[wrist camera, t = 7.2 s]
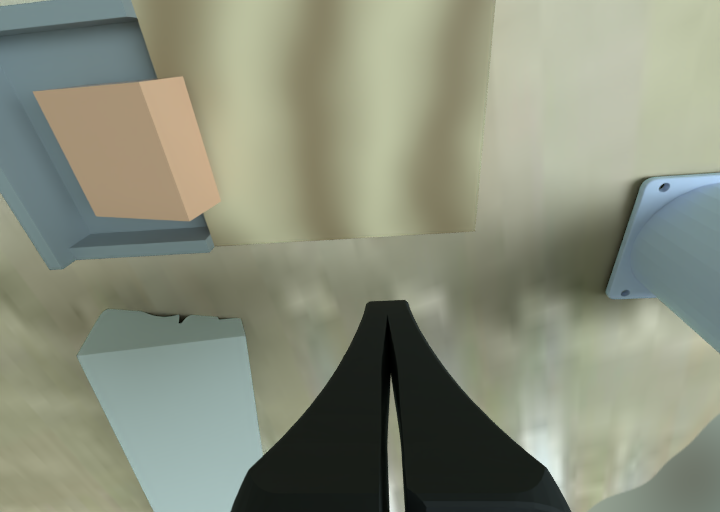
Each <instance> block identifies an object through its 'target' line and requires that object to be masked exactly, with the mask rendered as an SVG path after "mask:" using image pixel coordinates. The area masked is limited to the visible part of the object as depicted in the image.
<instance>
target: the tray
mask: <svg viewBox="0 0 720 512" xmlns="http://www.w3.org/2000/svg"><path fill="white" fill-rule="evenodd" d="M146 79H157V75H156V72H155V69H154V66H153V63H152V61H151V58H150V55H149V52H148V49H147V46H146V43H145V40H144V37H143V34H142V31H141V28H140V25H139V22H138V19H137V16H136V13H135V10H134V7H133V4H132V2H131V0H50V1H41V2H33V3H25V4H16V5H8V6H0V193H1V194H2V196H3V197H4V199H5V200H6V202H7V204H8V205H9V207H10V208H11V210H12V211H13V213H14V215H15V216H16V218H17V219H18V221H19V222H20V224H21V226H22V227H23V229H24V230H25V232H26V233H27V235H28V237H29V238H30V240H31V241H32V243H33V244H34V246H35V248H36V249H37V251H38V252H39V254H40V255H41V257H42V259H43V260H44V262H45V263H46V265H47V266H48V268H49V270H57V269H64V268H65V267H67V266H68V265H69V264H71V263H72V262H74V261H75V260H84V259H102V258H120V257H137V256H155V255H173V254H191V253H208V252H210V251H211V250H212V249H213V248H214V247H215V246H214V243H213V240H212V237H211V234H210V232H209V229H208V226H207V223H206V220H205V217H204V214H203V213H202V214H201V215H199V216H197V217H196V218H194V219H193V220H191V221H173V220H154V219H135V218H116V217H97V216H96V215H95V213H94V211H93V209H92V207H91V205H90V203H89V201H88V200H87V198H86V196H85V194H84V192H83V190H82V188H81V186H80V184H79V182H78V180H77V178H76V176H75V174H74V172H73V170H72V168H71V166H70V164H69V162H68V160H67V158H66V156H65V154H64V152H63V150H62V149H61V147H60V145H59V143H58V141H57V139H56V137H55V135H54V133H53V131H52V129H51V127H50V125H49V123H48V121H47V119H46V117H45V115H44V113H43V111H42V109H41V107H40V105H39V103H38V101H37V100H36V98H35V96H34V94H33V92H32V91H40V90H48V89H57V88H65V87H73V86H81V85H91V84H102V83H113V82H124V81H135V80H146Z"/></svg>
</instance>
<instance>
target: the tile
mask: <svg viewBox="0 0 720 512" xmlns="http://www.w3.org/2000/svg"><path fill="white" fill-rule="evenodd" d="M32 92H33V94H34V96H35V98H36V100H37V101H38V103H39V105H40V107H41V109H42V111H43V113H44V115H45V117H46V119H47V121H48V123H49V125H50V127H51V129H52V131H53V133H54V135H55V137H56V139H57V141H58V143H59V145H60V147H61V149H62V150H63V152H64V154H65V156H66V158H67V160H68V162H69V164H70V166H71V168H72V170H73V172H74V174H75V176H76V178H77V180H78V182H79V184H80V186H81V188H82V190H83V192H84V194H85V196H86V198H87V200H88V201H89V203H90V205H91V207H92V209H93V211H94V213H95V215H96V216H97V217H116V218H135V219H154V220H173V221H191V220H193V219H194V218H196V217H197V216H199V215H201V214H202V213H204V212H205V211H207V210H208V209H210V208H212V207H213V206H215V205H216V204H218V203H219V202H221V199H220V196H219V193H218V189H217V186H216V183H215V180H214V176H213V173H212V170H211V167H210V163H209V160H208V157H207V153H206V150H205V147H204V144H203V140H202V137H201V134H200V131H199V127H198V124H197V121H196V117H195V114H194V111H193V108H192V104H191V101H190V98H189V95H188V91H187V88H186V85H185V81H184V78H183V76H179V77H168V78H157V79H146V80H135V81H124V82H113V83H102V84H91V85H81V86H73V87H65V88H57V89H48V90H40V91H32Z"/></svg>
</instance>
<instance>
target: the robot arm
mask: <svg viewBox="0 0 720 512" xmlns="http://www.w3.org/2000/svg"><path fill="white" fill-rule="evenodd" d="M664 183H665V185H664V186H663V188H661V189H659V187H660V186H661V185H662V184H664ZM624 290H625V291H624ZM622 291H624V292H622ZM606 294H607V296H608V297H609V298H611V299H634V298H658V299H659V300H660V301H661V302H663V303H664V304H665V305H666V306H667V307H668V308H669V309H670V310H672V311H673V312H674V313H675V314H676V315H677V316H678V317H679V318H680V319H682V320H683V321H684V322H685V323H686V324H687V325H688V326H689V327H691V328H692V329H693V330H694V331H695V332H696V333H697V334H698V335H699V336H701V337H702V338H703V339H704V340H705V341H706V342H707V343H708V344H710V345H711V346H712V347H713V348H714V349H715V350H716V351H717V352H719V353H720V173H707V174H692V175H677V176H662V177H652V178H648V179H647V180H645V181H644V182H643V183H642V185H641V187H640V190H639V193H638V196H637V199H636V202H635V205H634V208H633V211H632V214H631V217H630V220H629V223H628V226H627V229H626V232H625V235H624V238H623V241H622V244H621V247H620V250H619V253H618V256H617V259H616V262H615V265H614V268H613V271H612V274H611V277H610V280H609V283H608V286H607V289H606ZM391 377H392V384H393V391H394V398H395V405H396V411H397V418H398V425H399V432H400V440H401V451H402V467H403V484H404V500H405V512H571V510H570V508H569V506H568V504H567V502H566V500H565V498H564V497H563V495H562V493H561V491H560V489H559V487H558V486H557V484H556V482H555V481H554V479H553V477H552V476H551V474H550V472H549V471H548V469H547V468H546V467H545V466H544V465H542V464H541V463H540V462H539V461H537V460H536V459H535V458H534V457H533V456H531V455H530V454H529V453H528V452H526V451H525V450H524V449H523V448H522V447H521V446H519V445H518V444H517V443H516V442H515V441H513V440H512V439H511V438H510V437H509V436H508V435H507V434H506V433H505V432H504V431H502V430H501V429H500V428H499V427H498V426H497V425H496V424H495V423H494V422H493V421H492V420H491V419H490V418H489V417H488V416H487V415H486V414H485V413H484V412H483V411H482V410H481V409H480V408H479V407H478V406H477V405H476V404H475V403H474V402H473V401H472V400H471V399H470V398H469V397H468V395H467V394H466V393H465V392H464V391H463V390H462V389H461V388H460V386H459V385H458V384H457V383H456V382H455V380H454V379H453V378H452V377H451V375H450V374H449V373H448V372H447V370H446V369H445V368H444V366H443V365H442V363H441V362H440V361H439V359H438V358H437V356H436V355H435V353H434V352H433V350H432V349H431V347H430V346H429V344H428V342H427V341H426V339H425V337H424V336H423V334H422V332H421V331H420V329H419V327H418V325H417V323H416V321H415V319H414V317H413V315H412V312H411V310H410V307H409V304H408V302H407V301H405V300H395V301H372V302H368V303H367V304H366V307H365V311H364V314H363V317H362V320H361V322H360V325H359V327H358V330H357V332H356V334H355V336H354V338H353V340H352V342H351V344H350V346H349V348H348V350H347V352H346V354H345V355H344V357H343V359H342V361H341V362H340V364H339V366H338V368H337V369H336V371H335V372H334V374H333V375H332V377H331V378H330V380H329V381H328V383H327V384H326V386H325V387H324V389H323V390H322V391H321V393H320V394H319V395H318V396H317V398H316V399H315V400H314V402H313V403H312V404H311V406H310V407H309V408H308V409H307V410H306V412H305V413H304V414H303V415H302V416H301V417H300V418H299V420H298V421H297V422H296V423H295V424H294V425H293V426H292V427H291V428H290V429H289V431H288V432H287V433H286V434H285V435H284V436H283V437H282V438H281V439H280V440H279V441H278V442H277V443H276V444H275V445H274V446H273V447H272V448H271V449H270V450H269V451H268V452H267V453H266V454H265V455H263V456H262V457H261V458H260V459H259V460H258V461H257V462H256V463H255V464H254V465H253V466H252V467H251V468H250V469H249V470H248V472H247V474H246V476H245V478H244V480H243V482H242V484H241V486H240V489H239V491H238V494H237V496H236V498H235V500H234V503H233V506H232V509H231V512H389V483H388V453H387V438H388V416H389V398H390V378H391Z"/></svg>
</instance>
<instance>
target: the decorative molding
mask: <svg viewBox="0 0 720 512" xmlns="http://www.w3.org/2000/svg"><path fill="white" fill-rule="evenodd" d="M77 358H78V360H79V362H80V364H81V366H82V368H83V370H84V372H85V374H86V376H87V378H88V380H89V382H90V384H91V386H92V388H93V390H94V392H95V394H96V396H97V398H98V400H99V402H100V404H101V406H102V408H103V410H104V412H105V414H106V416H107V418H108V420H109V422H110V425H111V427H112V429H113V431H114V433H115V435H116V437H117V439H118V441H119V443H120V445H121V447H122V449H123V451H124V453H125V455H126V457H127V459H128V461H129V463H130V465H131V467H132V469H133V471H134V473H135V475H136V477H137V479H138V481H139V483H140V485H141V487H142V489H143V491H144V493H145V495H146V497H147V499H148V501H149V503H150V505H151V507H152V509H153V511H154V512H231V509H232V506H233V503H234V500H235V498H236V496H237V494H238V491H239V489H240V486H241V484H242V482H243V480H244V478H245V476H246V474H247V472H248V470H249V469H250V468H251V467H252V466H253V465H254V464H255V463H256V462H257V461H258V460H259V459H260V458H261V457H262V456H263V453H262V446H261V440H260V433H259V426H258V419H257V412H256V405H255V398H254V391H253V384H252V377H251V370H250V363H249V357H248V350H247V343H246V336H245V332H244V328H243V325H242V321H241V319H240V318H231V319H220V320H219V319H218V317H212V316H199V315H190V316H188V317H187V318H185V319H184V321H183V322H182V323H179V315H175V316H169V317H160V316H153V315H150V314H147V313H145V312H142V311H130V310H116V309H106V310H105V311H103V312H102V314H101V315H100V316H99V318H98V319H97V321H96V323H95V325H94V326H93V328H92V330H91V332H90V333H89V335H88V337H87V339H86V340H85V342H84V344H83V346H82V347H81V349H80V351H79V352H78V354H77Z"/></svg>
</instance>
